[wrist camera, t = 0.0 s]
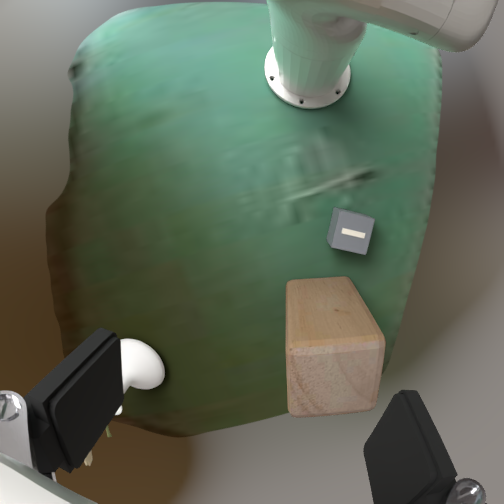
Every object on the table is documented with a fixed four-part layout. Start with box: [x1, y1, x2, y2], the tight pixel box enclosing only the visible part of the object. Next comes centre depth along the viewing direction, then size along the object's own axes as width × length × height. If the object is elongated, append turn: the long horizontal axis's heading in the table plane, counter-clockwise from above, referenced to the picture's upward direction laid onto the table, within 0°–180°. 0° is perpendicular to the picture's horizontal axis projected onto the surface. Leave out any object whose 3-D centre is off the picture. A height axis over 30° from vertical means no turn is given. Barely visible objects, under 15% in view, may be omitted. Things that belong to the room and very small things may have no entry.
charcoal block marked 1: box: [326, 207, 375, 255], centre depth 41 cm, size 5×5×5 cm
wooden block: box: [286, 276, 386, 418], centre depth 37 cm, size 10×10×20 cm
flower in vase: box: [84, 339, 165, 466], centre depth 41 cm, size 13×11×25 cm
